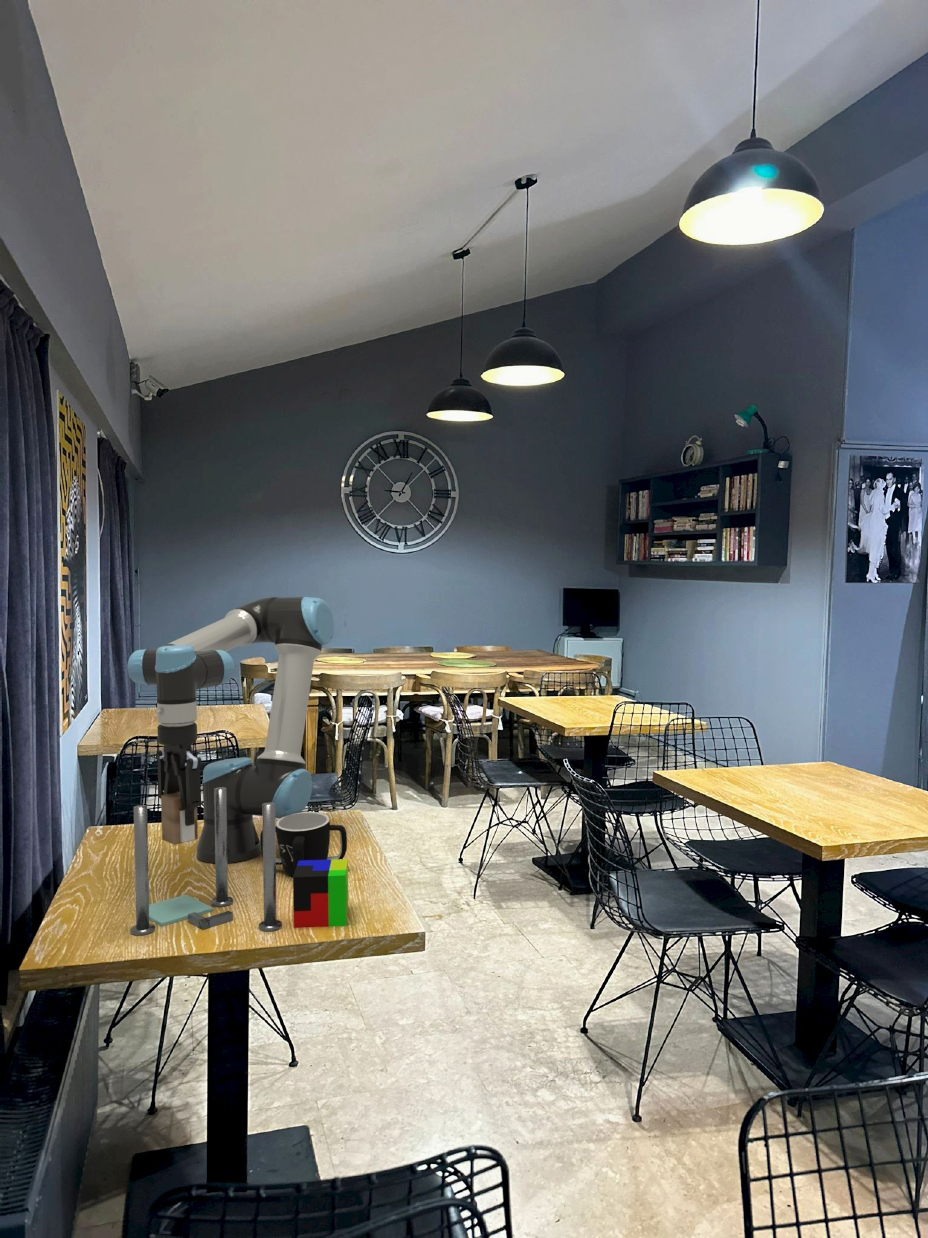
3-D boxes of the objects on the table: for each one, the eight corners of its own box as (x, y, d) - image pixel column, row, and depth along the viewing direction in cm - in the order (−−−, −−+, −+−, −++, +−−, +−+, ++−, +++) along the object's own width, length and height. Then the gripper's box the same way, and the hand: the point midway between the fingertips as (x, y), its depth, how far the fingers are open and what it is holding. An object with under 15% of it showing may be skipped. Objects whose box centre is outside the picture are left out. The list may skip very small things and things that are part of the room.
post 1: (126, 931, 166) (124, 807, 165) (148, 924, 169) (146, 802, 168) (136, 937, 163) (134, 811, 162) (159, 930, 166) (156, 806, 165)
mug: (256, 870, 201) (254, 820, 199) (317, 851, 211) (314, 803, 210) (292, 892, 188) (289, 839, 187) (354, 871, 199) (351, 820, 197)
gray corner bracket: (188, 921, 170) (187, 914, 170) (217, 912, 175) (217, 905, 175) (202, 929, 166) (202, 922, 166) (232, 920, 171) (232, 912, 171)
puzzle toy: (299, 909, 177) (298, 860, 177) (348, 907, 178) (347, 859, 177) (293, 928, 167) (293, 877, 167) (346, 926, 168) (345, 875, 168)
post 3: (254, 927, 167) (252, 804, 166) (273, 920, 171) (272, 800, 170) (266, 933, 164) (265, 808, 163) (286, 927, 167) (284, 804, 166)
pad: (136, 911, 176) (135, 908, 176) (186, 897, 184) (186, 894, 183) (161, 926, 168) (161, 923, 168) (212, 911, 176) (212, 908, 176)
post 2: (207, 903, 180) (205, 788, 179) (226, 897, 183) (224, 785, 182) (218, 908, 177) (216, 792, 176) (237, 903, 180) (235, 788, 179)
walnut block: (184, 834, 178) (183, 790, 177) (197, 839, 174) (196, 795, 174) (162, 839, 174) (161, 795, 174) (174, 845, 171) (173, 799, 170)
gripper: (137, 720, 176) (141, 833, 178) (183, 731, 164) (186, 852, 165) (171, 715, 182) (174, 825, 183) (218, 725, 170) (221, 842, 171)
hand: (180, 837), depth 174 cm, fingers closed on walnut block, 5 cm apart
